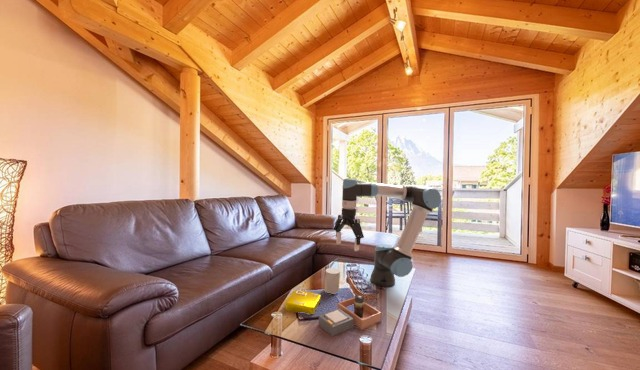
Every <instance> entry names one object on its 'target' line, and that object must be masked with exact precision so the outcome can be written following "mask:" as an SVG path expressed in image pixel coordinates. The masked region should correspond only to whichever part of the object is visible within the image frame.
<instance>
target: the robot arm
mask: <svg viewBox="0 0 640 370" xmlns="http://www.w3.org/2000/svg"><path fill="white" fill-rule="evenodd" d="M376 196H377V197H385V198H392V199H393V198H394V199H398V200H399V201H405V202H408V203H411V207H412V209H411V212H410V214H409V216H408V218H407V222H406V223H405V226H404V228H403V230H402V232H401V236H400V237H399V240H398V242H397V244H396V245H391V244H386V243H385V244H383V243H382V244H377V245H376V246H375V248H374V249H375V250H374V262H373V268H372V272H371V274H370V278H369V280H370V281H371V283H373V284H374V285H376V286H379V287H392V286H394V285H395V284H396V278H395V276H396V277H399V278H402V277H405V276H408V275H409V274H410V273H411V272H412V270H413V262H412V258H413V254H412V252H413V249H414V246H415V244H416V242H417V239H418V237H419V235H420V234H421V233H420V232H421V230H422V228H423V226H424V223H425V221H426V218H427V216H428V215H429V214H432V212H433V210H434V209H436V208H438V207H439V206H440V205H441V202H442V196H441V192H440V191H439V190H438V189H436V188H435V187H432V186H424V185H418V184H400V185H394V184H387V183H379V182H371V181H365V180H364V181H363V180H358V179H357V178H344V179H343V180H342V198H341V207H342V208H341V214H338V215H337V220H336V222H335V224H334V226H333V230H334V231H335V237H336V243H335V244H336V245H340V244H342V230H343V228H344V227H345V226H348V227H350V229H351V230H352V232H353V234H354V237H355V238H354V252H358V251H360V245H361V239H364V238H365V236H364V232H363V229H362V226H361V220H360V219H359V218H356V215H357V201H358V199H357V198H358V197H360V198H361V197H364V198H365V197H367V198H368V197H371V198H372V197H376Z"/></svg>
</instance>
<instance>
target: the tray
mask: <svg viewBox="0 0 640 370" xmlns="http://www.w3.org/2000/svg"><path fill="white" fill-rule="evenodd" d="M354 301H355V296H354V297H352V298H348V299H346V300H343V301H340V302H338V303H337V309H341V310H342V311H344V312H345V313H346V314H348V315H349V316H351V317H352V318H353V319H354V322H353V325H354V324H355V327H357V328H358V327H359V329H360V330H361V331H362V330H363V331H364V330H365V329H368V328H370V327H372V326H374V325H376V324H378V323H381V321H382V320H381V319H382V312H381V311H379V310H378V309H376V308H375V307H374V306H372V305H370V304H368V303H367V302H365V301H364V308H363V317H362V318H360V317H358V316H357V315H356V314H354V313H353V312H351V311H350V310H348V309H347V308H346V307H347V306H349V305H352V304H354ZM337 309H336V310H337Z"/></svg>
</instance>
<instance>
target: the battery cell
mask: <svg viewBox="0 0 640 370" xmlns="http://www.w3.org/2000/svg"><path fill="white" fill-rule="evenodd" d="M354 297H355V301H354V314H356V315H357V316H358V317H360V318H362V317H363V308H364V302H365V297H364V296H362V295H355V296H354Z"/></svg>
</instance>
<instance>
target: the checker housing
mask: <svg viewBox="0 0 640 370" xmlns="http://www.w3.org/2000/svg"><path fill="white" fill-rule="evenodd" d="M336 310H338V311H339V312H341V313H342V314H344V315H345V316H346V317H348V320H345V321H343V322H340V323H338V324H335V325H334V324H333V323H332V322H331V321H330V320H327V319H326V318H325V314H328V313H331V312H334V311H336ZM353 322H354V319H353V318H352V317H351V316H349V315H348V314H346V313H345V312H344V311H342V310H341V309H334V310H332V311H331V310H330V311H329V312H326V313H323V314H320V315H318V325H319V326H320V327H321V328H322V329H324V331H326V332H327V333H328V334H329V335H330V336H331V337H333V336H336V335H338V334H340V333H344V332H345V331H347V330H348V331H349V330H350V329H352V328H354V324H353Z"/></svg>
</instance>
